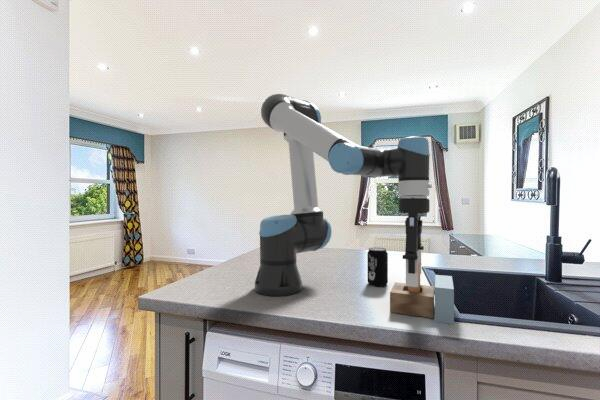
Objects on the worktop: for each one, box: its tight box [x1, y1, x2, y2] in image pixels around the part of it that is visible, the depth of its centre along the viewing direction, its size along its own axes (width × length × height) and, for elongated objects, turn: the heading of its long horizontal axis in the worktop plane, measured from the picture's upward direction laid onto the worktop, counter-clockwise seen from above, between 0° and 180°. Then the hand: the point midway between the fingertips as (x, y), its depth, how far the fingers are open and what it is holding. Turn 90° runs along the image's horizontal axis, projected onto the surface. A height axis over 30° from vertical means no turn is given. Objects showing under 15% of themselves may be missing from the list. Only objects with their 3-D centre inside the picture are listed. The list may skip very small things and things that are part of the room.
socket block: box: [389, 282, 435, 319], centre depth 81 cm, size 10×10×5 cm
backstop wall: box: [434, 274, 455, 325], centre depth 77 cm, size 4×13×8 cm, turn 156°
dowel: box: [408, 263, 421, 292], centre depth 80 cm, size 3×3×12 cm
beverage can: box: [367, 247, 389, 288], centre depth 104 cm, size 7×7×12 cm
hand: (414, 279), depth 80 cm, fingers open, 13 cm apart
